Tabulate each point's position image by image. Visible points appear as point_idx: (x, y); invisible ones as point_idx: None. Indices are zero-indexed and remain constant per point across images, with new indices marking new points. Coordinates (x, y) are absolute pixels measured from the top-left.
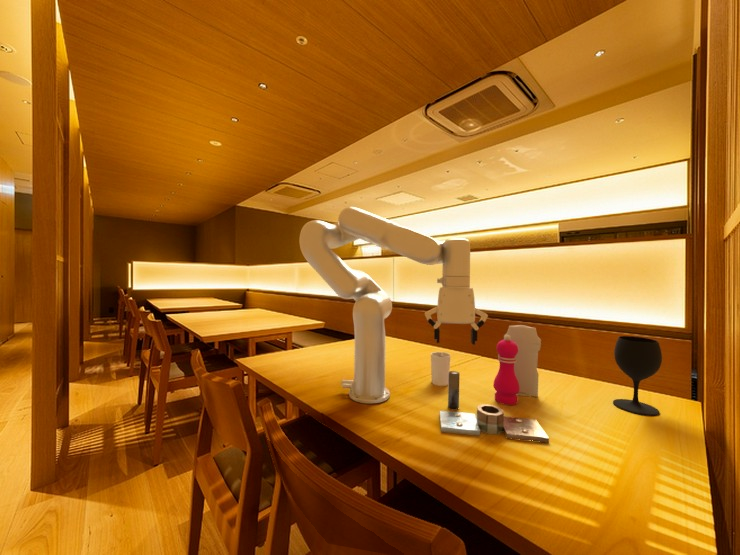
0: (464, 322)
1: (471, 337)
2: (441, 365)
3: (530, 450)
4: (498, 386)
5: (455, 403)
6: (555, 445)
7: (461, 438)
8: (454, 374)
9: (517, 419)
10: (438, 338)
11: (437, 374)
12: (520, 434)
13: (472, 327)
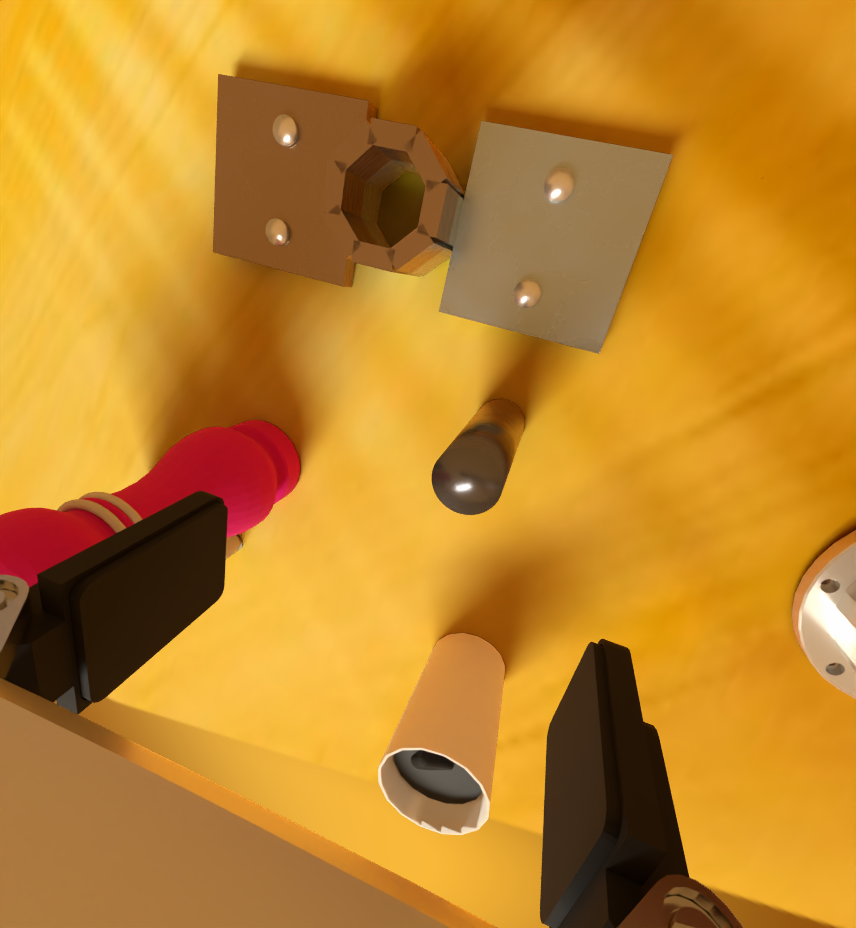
0: (8, 712)
1: (180, 595)
2: (454, 710)
3: (321, 6)
4: (255, 466)
5: (495, 405)
6: (216, 67)
7: (586, 96)
8: (475, 449)
9: (280, 238)
10: (613, 683)
11: (482, 681)
12: (315, 97)
13: (37, 679)
